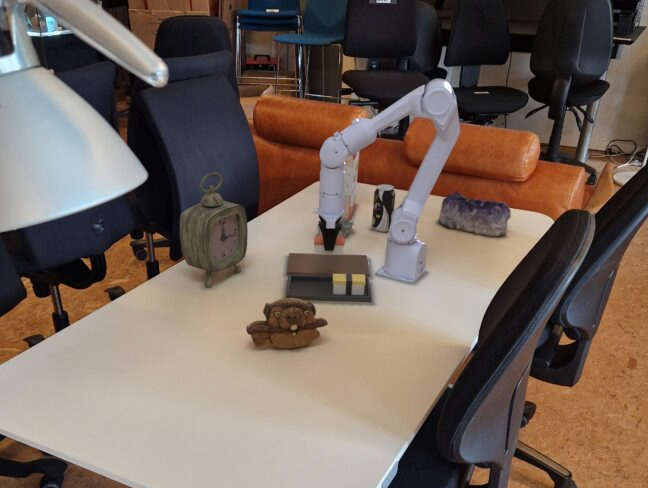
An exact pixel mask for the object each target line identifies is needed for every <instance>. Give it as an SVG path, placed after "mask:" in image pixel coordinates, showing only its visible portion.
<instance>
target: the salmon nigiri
mask: <svg viewBox="0 0 648 488" xmlns="http://www.w3.org/2000/svg"><path fill="white" fill-rule="evenodd" d="M345 245H346V244H345V237H337V239H336V243H335V247H334V250H333V251H325V249H324V243H323V236H318V235H314V236H313V246H314V249H313V250H314V251H313V254H322V255H343V254H344V246H345Z"/></svg>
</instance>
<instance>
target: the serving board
mask: <svg viewBox="0 0 648 488" xmlns="http://www.w3.org/2000/svg"><path fill="white" fill-rule="evenodd" d="M287 262H288V263H287V268H286V270H287V271H286V276H288V275H314V276H333V274H346V273H351V274H364V275H365V277H369V279H370V278H371V271H370V263H369V255H368V254H344V253H343V255H322V254H314V253H309V252H307V253H306V252H305V253H302V252H289V253H288V260H287Z"/></svg>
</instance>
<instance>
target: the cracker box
mask: <svg viewBox="0 0 648 488" xmlns="http://www.w3.org/2000/svg"><path fill="white" fill-rule="evenodd" d="M359 159H360V151H358V152H357V153H355V154H354V155H352V156H347V157H345V160H344V172H345V179H344V197H343V210H344V212H343V215H342V218H345V219H349V220H350V218H351V216H352V213H353V211H354V208H355V206H356V197H357V186H358V175H359V174H358V173H359V163H360V162H359Z"/></svg>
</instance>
